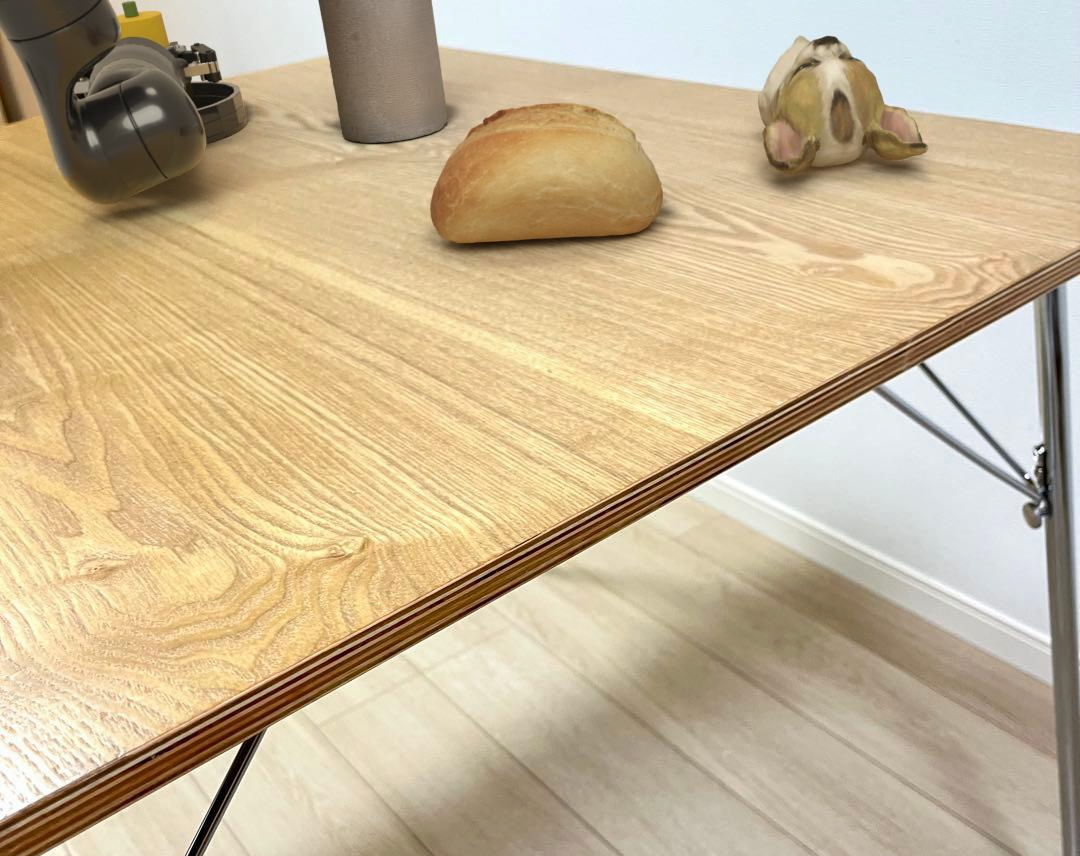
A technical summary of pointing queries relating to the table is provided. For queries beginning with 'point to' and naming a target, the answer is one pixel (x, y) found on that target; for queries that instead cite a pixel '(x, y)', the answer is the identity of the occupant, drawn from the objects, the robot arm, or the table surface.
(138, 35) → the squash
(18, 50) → the robot arm
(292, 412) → the table surface
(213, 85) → the pan
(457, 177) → the bread roll
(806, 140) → the ceramic sculpture
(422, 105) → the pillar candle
